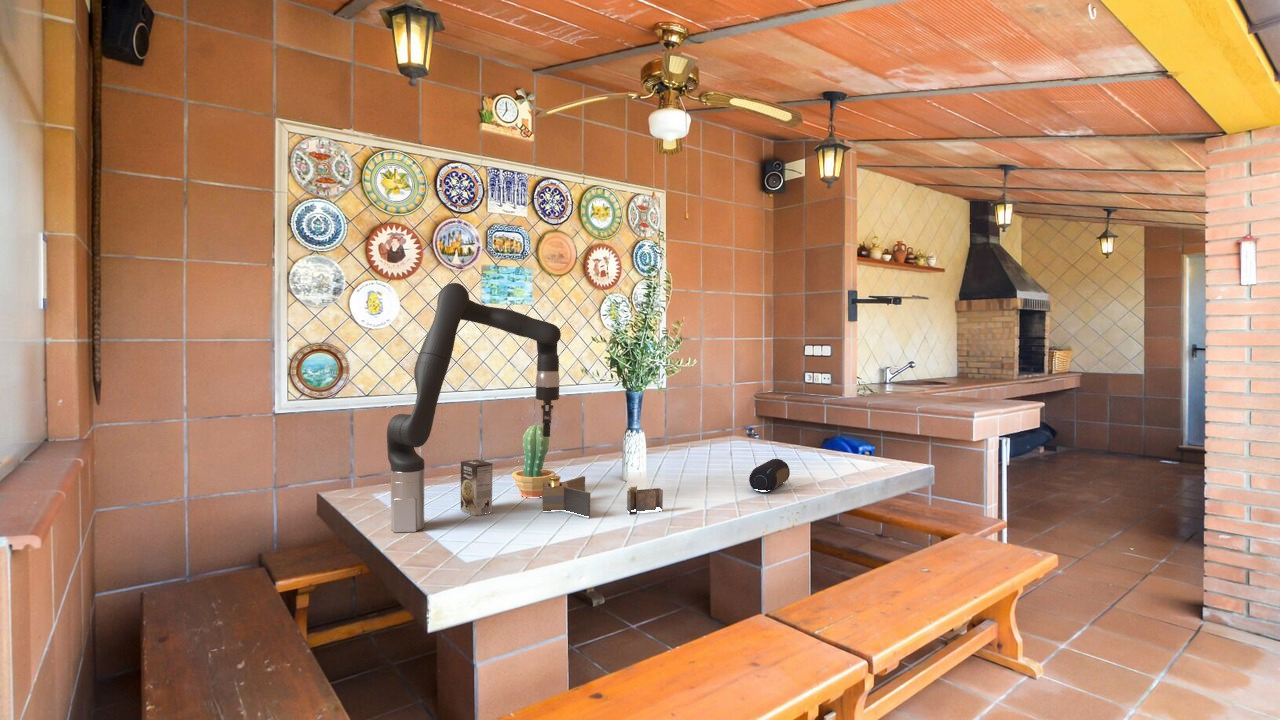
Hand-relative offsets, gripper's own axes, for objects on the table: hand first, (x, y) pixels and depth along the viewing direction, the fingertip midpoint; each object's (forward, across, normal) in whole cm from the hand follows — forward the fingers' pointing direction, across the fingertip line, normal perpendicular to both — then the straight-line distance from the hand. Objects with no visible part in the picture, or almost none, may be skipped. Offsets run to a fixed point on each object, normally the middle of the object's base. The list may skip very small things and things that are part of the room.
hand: (546, 434), depth 214 cm
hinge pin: (+24, 0, +3) cm, 25 cm away
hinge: (+24, 0, +6) cm, 25 cm away
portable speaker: (+24, -24, +84) cm, 91 cm away
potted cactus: (+24, -19, -4) cm, 31 cm away
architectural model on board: (+25, +6, +32) cm, 41 cm away
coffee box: (+25, +1, -22) cm, 33 cm away
